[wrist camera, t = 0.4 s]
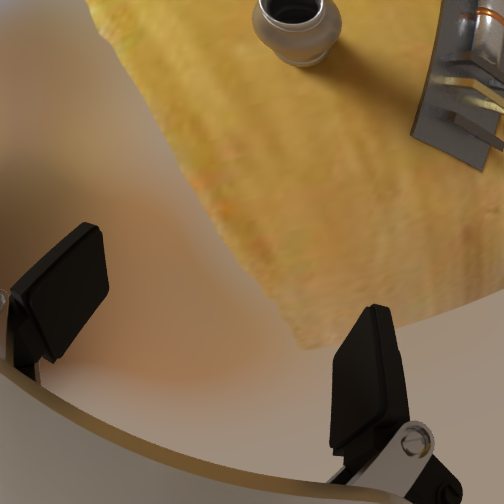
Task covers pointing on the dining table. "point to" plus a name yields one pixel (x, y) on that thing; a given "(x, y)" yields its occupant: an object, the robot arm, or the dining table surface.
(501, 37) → the tube
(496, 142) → the collar
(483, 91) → the aperture bridge
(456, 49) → the plate
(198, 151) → the dining table surface
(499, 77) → the collar
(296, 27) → the plastic bottle
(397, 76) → the dining table surface
